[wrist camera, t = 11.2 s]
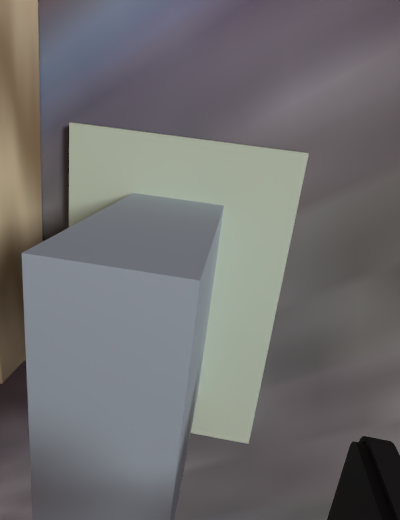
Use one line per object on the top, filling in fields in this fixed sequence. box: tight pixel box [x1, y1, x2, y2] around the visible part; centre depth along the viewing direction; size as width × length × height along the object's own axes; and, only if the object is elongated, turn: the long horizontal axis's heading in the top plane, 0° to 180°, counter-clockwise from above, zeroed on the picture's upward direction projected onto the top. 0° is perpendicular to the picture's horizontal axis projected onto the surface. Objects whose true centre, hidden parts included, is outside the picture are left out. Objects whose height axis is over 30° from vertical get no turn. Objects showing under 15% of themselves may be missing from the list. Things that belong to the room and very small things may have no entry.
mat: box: [69, 123, 308, 444], centre depth 15 cm, size 12×8×1 cm, turn 173°
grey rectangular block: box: [22, 193, 224, 520], centre depth 11 cm, size 8×3×7 cm, turn 173°
